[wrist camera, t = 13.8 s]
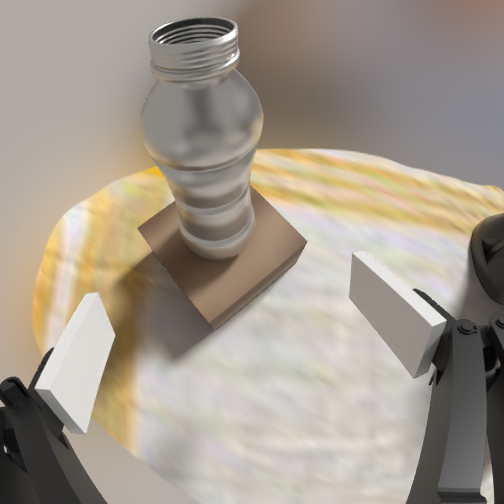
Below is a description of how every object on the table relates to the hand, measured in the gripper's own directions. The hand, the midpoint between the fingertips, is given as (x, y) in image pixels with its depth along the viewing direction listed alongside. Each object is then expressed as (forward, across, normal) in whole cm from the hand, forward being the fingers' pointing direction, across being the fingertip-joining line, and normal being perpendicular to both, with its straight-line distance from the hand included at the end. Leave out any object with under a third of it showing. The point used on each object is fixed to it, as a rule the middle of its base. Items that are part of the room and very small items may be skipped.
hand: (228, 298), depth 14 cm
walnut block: (+18, 0, -6) cm, 19 cm away
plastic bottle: (+14, 0, -2) cm, 14 cm away
